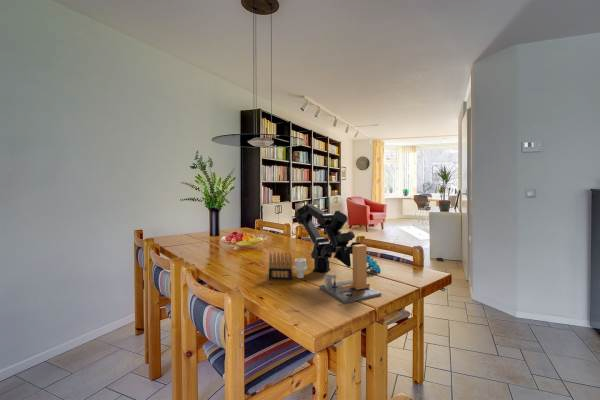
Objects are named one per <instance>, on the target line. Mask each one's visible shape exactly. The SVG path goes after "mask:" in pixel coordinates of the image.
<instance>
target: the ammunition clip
mask: <svg viewBox="0 0 600 400" xmlns="http://www.w3.org/2000/svg"><path fill="white" fill-rule="evenodd" d="M268 257H269V258H268V280H275V281H277V280H278V281H292V280H293V279H294V278H293V260H292V254H291V252H289V254H288V253H287V252H285V253H283V252H281V255H280V252H277V255H276V253H275V252H274V253H273V254H272V252H269V256H268Z"/></svg>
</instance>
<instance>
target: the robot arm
mask: <svg viewBox="0 0 600 400" xmlns="http://www.w3.org/2000/svg"><path fill="white" fill-rule="evenodd" d="M312 217H313V218H315V219H316V220H317V224H318V225H319V226H321V227H326V228H324V232H323V235H326V236H327V237H328V238H327V237H324V238H323V237H322V235H321V234H320V232H319V231H318V229H317V227H316V225H315V224H314V222H313V221H312ZM294 218H295V220H296V222H298V224H300V225H302V226H303V228H304V229H305V231H306V232H307V233H308V236H309V238H310V240H311V241H312V243H313V247H312V251H311V253H310V255H311V259H313V260H314V264H313V265H314V268H313V269H312V271H314V272H319V273H326V272H328V271H331V268H330V261H329V259H331V258H332V255H333V254H334V255H333V258H334V259H337V260H338V261H340V263H342V264H343V265H345V266H346V267H347V268H350V267H351V266H352V263H351V255H353V245H359V244H362V243H361V242H360V241H354V242H351V244H350V241H353V239H355V237H356V236H355V233H354V232H353V231H352V230H350V231H347V232H342V233H341V230H342V229H343V228H344V226H345V225H346V223H347V222H348V216H347V215H346V214H345V213H343V212H341V211H340V210H335V211H334V213H332V212H326V211H324V210H321V209H320V208H319V207H317V206H316V205H314V204H313V203H306V204H303V206H301V207H299V208H297V210H296V211H295V212H294ZM349 244H350V245H349Z"/></svg>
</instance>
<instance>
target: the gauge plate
mask: <svg viewBox="0 0 600 400" xmlns="http://www.w3.org/2000/svg"><path fill="white" fill-rule="evenodd" d="M332 279H333V282H332ZM336 279H337V274H326V275H324V284H322V285H320V286H319V289H320V290H323V291H324V292H325V293H327V294H328V295H330V296H332V297H334V298H335V299H336V300H339V301H340V302H341V303H343V304H350V303H355V302H358V301H363V300H368V299H371V298H375V297H379V296H382V292H381V291H378V290H377V289H374V288H372V287H371V286H370V287H369V288H364V289H359V290H357V289H355V288H353V287H352V288H347V289H343V290H341V289H340V286H343V285H348V284H350V282H353V279H349V280H344V281H336Z"/></svg>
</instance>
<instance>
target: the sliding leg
mask: <svg viewBox="0 0 600 400" xmlns="http://www.w3.org/2000/svg"><path fill="white" fill-rule="evenodd" d="M367 252H368V251H367V245H366V244H362V243H361V244H359V245H353V254H352V280H353V282H350V284H348V285H343V286H340V289H341V290H343V289H347V288H352V287H353V288H355V289H357V290H359V289H364V288H369V287H370V288H371V286H370V282H367V277H368V276H367V273H368V272H367V271H368V270H367V267H368V266H367V265H368V262H367V256H368V254H367Z"/></svg>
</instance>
